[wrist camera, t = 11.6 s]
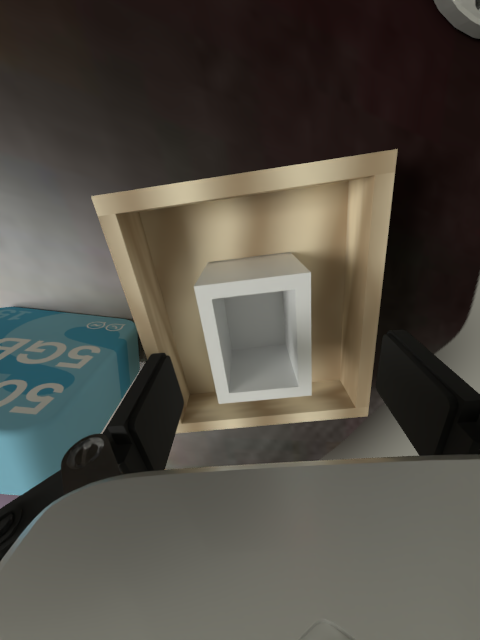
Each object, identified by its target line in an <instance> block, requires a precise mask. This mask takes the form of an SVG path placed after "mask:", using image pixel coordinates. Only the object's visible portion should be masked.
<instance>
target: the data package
mask: <svg viewBox="0 0 480 640" xmlns="http://www.w3.org/2000/svg"><path fill="white" fill-rule="evenodd" d="M139 369H140V364H139V348H138V331H137V328H136V325H135V323H134V322H132V321H130V320H127V319H120V318H111V317H102V316H93V315H84V314H75V313H66V312H56V311H47V310H38V309H29V308H20V307H5V308H0V494H10V495H22V494H24V493H25V492H27V491H28V490H30V489H32V488H33V487H35V486H36V485H38V484H39V483H41V482H42V481H44V480H45V479H47V478H48V477H50V476H52V475H53V474H55V473H56V472H58V471H59V470H61V461H62V459H63V457H64V455H65V453H66V452H67V451H68V450H69V448H71V447H72V446H73V445H74V444H75V443H76V442H78V441H79V440H81V439H82V438H84V437H87V436H89V435H92V434H100V433H101V432H102V430H103V428H104V427H105V425H106V424H107V422H108V420H109V419H110V417H111V416H112V414H113V412H114V411H115V409H116V408H117V406H118V404H119V403H120V401H121V399H122V398H123V396H124V395H125V393H126V391H127V390H128V388H129V387H130V385H131V383H132V382H133V380H134V379H135V377H136V375H137V374H138V372H139Z"/></svg>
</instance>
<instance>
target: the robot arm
mask: <svg viewBox="0 0 480 640" xmlns="http://www.w3.org/2000/svg"><path fill="white" fill-rule="evenodd" d="M433 1H434V3H435V4H436V6H437V8H438V10H439V11H440V12H441V13H442V15H443V16H444V17H445V18H446V19H447V20H448V21H449V22H450V23H451V24H452V25H453V26H454V27H455V28H457V29H459V30H460V31H462V32H464V33H466V34H467V35H469V36H471V37H473V38H477V39H480V0H433ZM376 388H377V391H378V393H379V394H380V396H381V398H382V399H383V401H384V402H385V404H386V405H387V406H388V408H389V410H390V411H391V413H392V414H393V416H394V417H395V419H396V420H397V422H398V423H399V425H400V426H401V428H402V429H403V431H404V433H405V434H406V436H407V437H408V439H409V440H410V442H411V443H412V445H413V446H414V448H415V449H416V451H417V452H418V454H419V456H402V457H383V458H362V459H341V460H322V461H303V462H285V463H267V464H249V465H233V466H216V467H200V468H184V469H171V470H165V466H166V463H167V460H168V456H169V453H170V450H171V447H172V443H173V440H174V437H175V433H176V430H177V427H178V424H179V420H180V417H181V414H182V410H183V407H184V399H183V396H182V393H181V389H180V386H179V383H178V380H177V377H176V373H175V370H174V367H173V364H172V361H171V358H170V356H169V355H166V354H165V353H154V354H151V355H150V357H149V358H148V360H147V362H146V363H145V365H144V366H143V368H142V370H141V371H140V373H139V375H138V376H137V378H136V380H135V381H134V383H133V385H132V386H131V388H130V390H129V391H128V393H127V394H126V396H125V398H124V399H123V401H122V403H121V404H120V406H119V408H118V409H117V411H116V413H115V414H114V416H113V418H112V419H111V421H110V422H109V424H108V426H107V427H106V429H105V431H104V432H103V434H92V435H89V436H87V437H84V438H82V439H81V440H79V441H78V442H76V443H75V444H74V445H73V446H72V447H71V448H69V450H68V451H67V452H66V453H65V455H64V457H63V459H62V461H61V470H59V471H58V472H56V473H55V474H53V475H52V476H50V477H48V478H47V479H45V480H44V481H42V482H41V483H39V484H38V485H36V486H35V487H33V488H32V489H30V490H28V491H27V492H25V493H24V494H22V495H21V496H19V497H18V498H16V499H15V500H13V501H12V502H10V503H9V504H7V505H5V506H4V507H2V508H1V509H0V640H480V394H478V393H477V392H476V391H475V390H474V389H473V388H472V387H470V386H469V385H468V384H467V383H466V382H465V381H464V380H463V379H461V378H460V377H459V376H458V375H457V374H456V373H454V372H453V371H452V370H451V369H450V368H449V367H447V366H446V365H445V364H444V363H443V362H442V361H441V360H439V359H438V358H437V357H436V356H435V355H434V354H432V353H431V352H430V351H429V350H428V349H427V348H426V347H424V346H423V345H422V344H421V343H420V342H419V341H417V340H416V339H415V338H414V337H413V336H412V335H411V334H409V333H408V332H407V331H406V330H403V329H402V330H392V331H388V332H387V334H386V335H384V336H383V339H382V345H381V352H380V359H379V366H378V373H377V380H376Z"/></svg>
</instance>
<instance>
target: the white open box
mask: <svg viewBox="0 0 480 640" xmlns="http://www.w3.org/2000/svg"><path fill="white" fill-rule="evenodd" d="M194 290H195V295H196V299H197V304H198V309H199V313H200V318H201V323H202V328H203V332H204V337H205V342H206V346H207V351H208V356H209V361H210V365H211V370H212V375H213V379H214V384H215V389H216V393H217V398H218V403H219V404H224V403H235V402H246V401H257V400H268V399H279V398H290V397H301V396H312V362H311V272H310V271H309V270H308V269H307V268H306V267H305V266H304V265H303V264H302V263H301V262H300V261H299V260H298V259H297V258H296V257H295V256H294V255H293V254H292V253H291V252H285V253H277V254H269V255H261V256H253V257H245V258H237V259H230V260H222V261H214V262H208V263H207V265H206V267H205V268H204V270H203V272H202V273H201V275H200V277H199V279H198V280H197V282H196V284H195V285H194Z"/></svg>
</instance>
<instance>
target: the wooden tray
mask: <svg viewBox="0 0 480 640" xmlns="http://www.w3.org/2000/svg"><path fill="white" fill-rule="evenodd" d="M397 150H398V149H395V150H389V151H382V152H376V153H369V154H363V155H356V156H350V157H343V158H337V159H330V160H324V161H317V162H311V163H304V164H298V165H292V166H285V167H279V168H272V169H266V170H259V171H253V172H246V173H240V174H233V175H227V176H220V177H214V178H207V179H201V180H194V181H188V182H181V183H175V184H168V185H162V186H155V187H149V188H142V189H136V190H129V191H123V192H117V193H110V194H104V195H97V196H91V198H92V201H93V203H94V206H95V209H96V212H97V215H98V218H99V221H100V224H101V227H102V230H103V232H104V235H105V238H106V241H107V244H108V247H109V250H110V253H111V256H112V259H113V262H114V264H115V267H116V270H117V273H118V276H119V279H120V282H121V285H122V288H123V291H124V293H125V296H126V299H127V302H128V305H129V308H130V311H131V314H132V317H133V320H134V322H135V325H136V328H137V331H138V334H139V337H140V340H141V343H142V346H143V349H144V352H145V354H146V357H147V360H148V358H149V357H150V355H151V354H154V353H165V354H166V355H169V356H170V358H171V361H172V364H173V367H174V370H175V373H176V377H177V380H178V383H179V386H180V389H181V393H182V396H183V399H184V407H183V410H182V414H181V417H180V420H179V424H178V427H177V430H176V433H185V432H197V431H208V430H219V429H230V428H241V427H252V426H264V425H275V424H286V423H297V422H308V421H319V420H330V419H342V418H353V417H364V416H368V409H369V400H370V391H371V382H372V373H373V365H374V356H375V347H376V338H377V329H378V320H379V311H380V302H381V293H382V284H383V275H384V266H385V257H386V248H387V239H388V230H389V221H390V213H391V204H392V195H393V186H394V177H395V168H396V159H397ZM285 252H291V253H292V254H293V255H294V256H295V257H296V258H297V259H298V260H299V261H300V262H301V263H302V264H303V265H304V266H305V267H306V268H307V269H308V270H309V271H310V272H311V362H312V396H301V397H290V398H279V399H268V400H257V401H246V402H235V403H224V404H219V403H218V398H217V393H216V389H215V384H214V379H213V375H212V370H211V365H210V361H209V356H208V351H207V346H206V342H205V337H204V332H203V328H202V323H201V318H200V313H199V309H198V304H197V299H196V295H195V290H194V285H195V284H196V282H197V280H198V279H199V277H200V275H201V273H202V272H203V270H204V268H205V267H206V265H207V263H208V262H214V261H222V260H230V259H237V258H245V257H253V256H261V255H269V254H277V253H285Z"/></svg>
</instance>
